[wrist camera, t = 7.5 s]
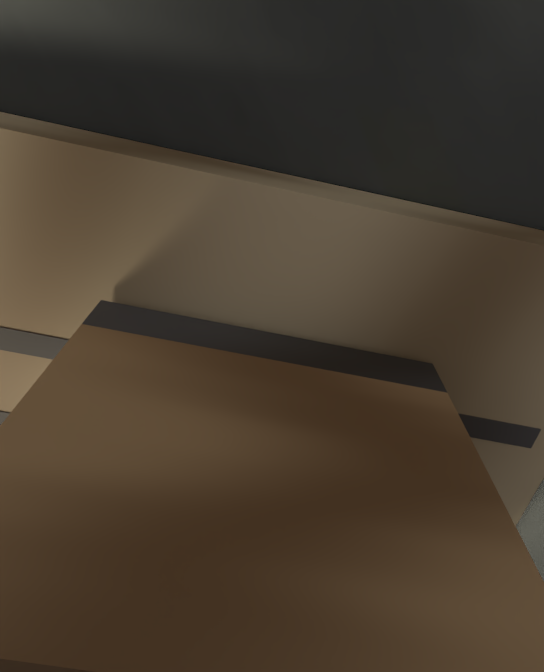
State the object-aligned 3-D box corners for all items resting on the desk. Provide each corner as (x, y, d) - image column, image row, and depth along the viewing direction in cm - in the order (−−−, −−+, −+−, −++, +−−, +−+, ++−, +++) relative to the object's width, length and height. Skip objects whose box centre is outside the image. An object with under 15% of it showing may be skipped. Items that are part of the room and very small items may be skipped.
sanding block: (432, 363, 8) (627, 746, 3) (320, 643, 11) (345, 1033, 7) (100, 299, 8) (-168, 634, 3) (82, 608, 11) (-62, 995, 6)
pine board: (615, 246, 8) (664, 272, 7) (400, 655, 13) (411, 707, 12) (-618, -24, 7) (-782, -41, 6) (-351, 540, 12) (-414, 586, 11)
